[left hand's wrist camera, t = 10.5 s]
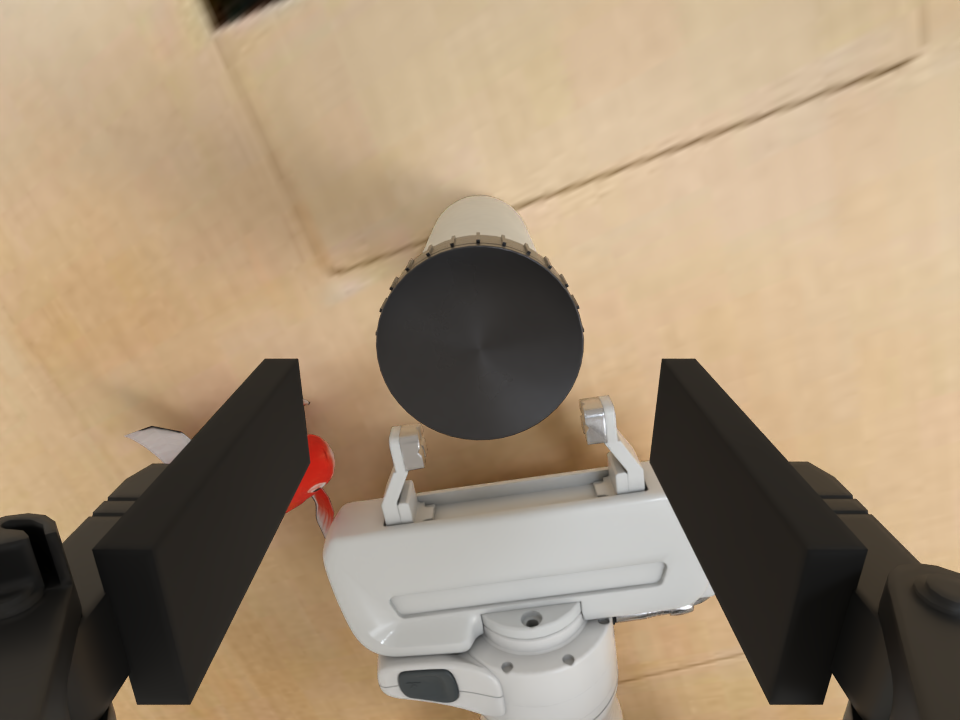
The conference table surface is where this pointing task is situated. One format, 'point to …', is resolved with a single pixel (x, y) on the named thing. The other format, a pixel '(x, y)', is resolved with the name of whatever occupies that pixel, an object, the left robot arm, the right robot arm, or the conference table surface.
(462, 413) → the lid
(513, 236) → the jar
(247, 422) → the left robot arm
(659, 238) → the conference table surface
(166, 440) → the fish
